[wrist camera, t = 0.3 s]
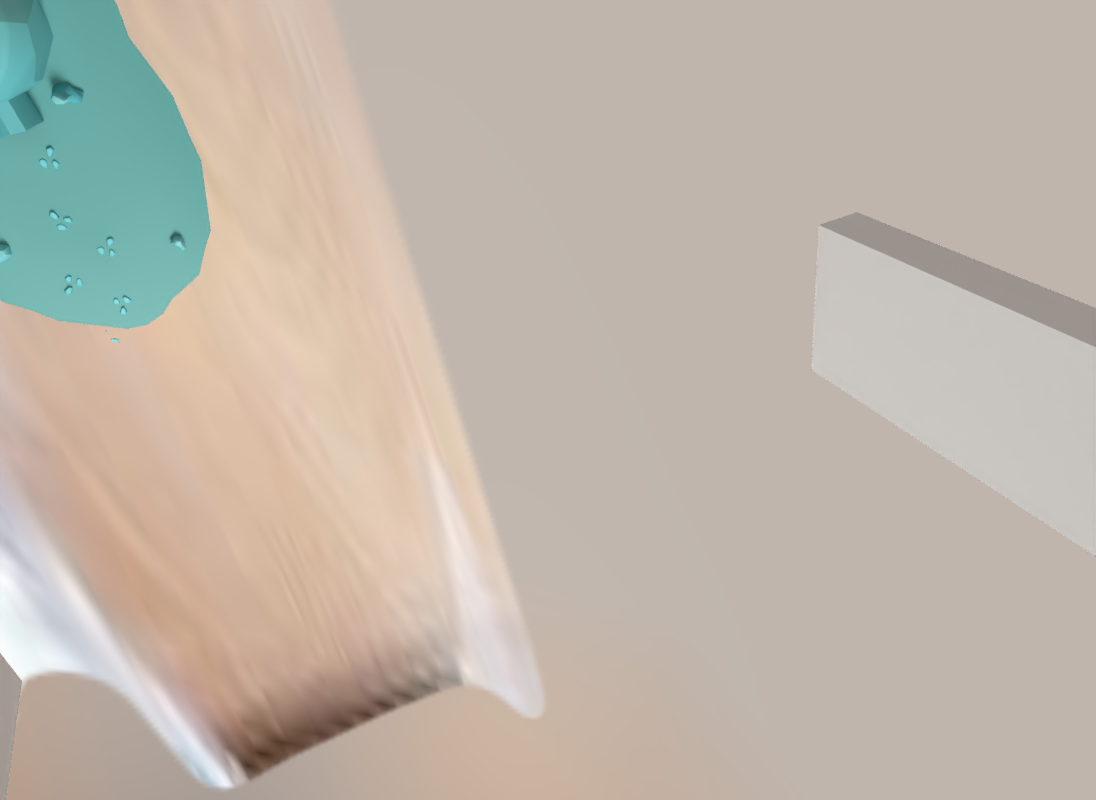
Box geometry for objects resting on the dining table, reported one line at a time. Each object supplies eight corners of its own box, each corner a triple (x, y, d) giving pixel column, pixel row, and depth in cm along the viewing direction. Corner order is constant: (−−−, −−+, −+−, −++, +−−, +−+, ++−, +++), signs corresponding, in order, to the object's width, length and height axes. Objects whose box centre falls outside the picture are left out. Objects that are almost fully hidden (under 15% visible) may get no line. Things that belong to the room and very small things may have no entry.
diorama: (25, 401, 36) (2, 512, 29) (-384, -123, 24) (-581, -141, 18) (288, 291, 38) (322, 370, 32) (29, -232, 27) (-3, -284, 20)
